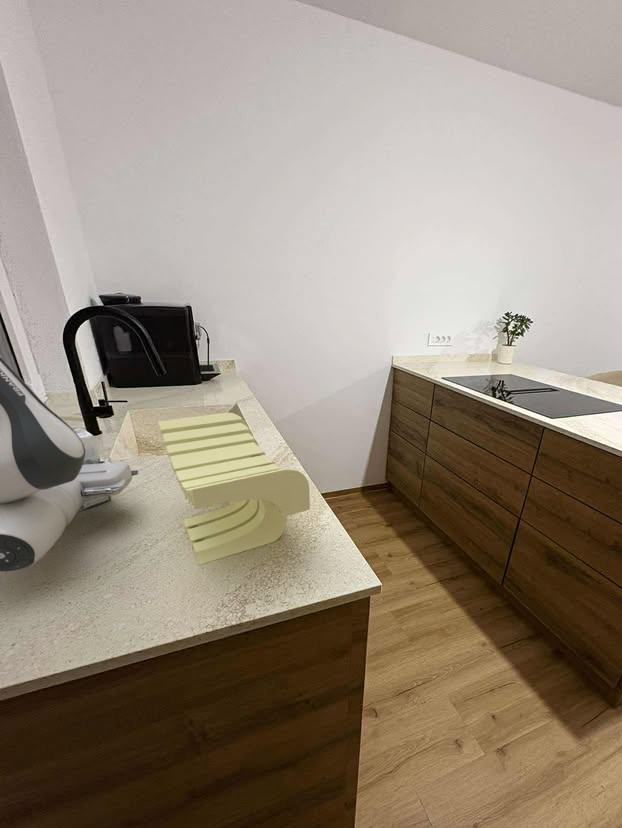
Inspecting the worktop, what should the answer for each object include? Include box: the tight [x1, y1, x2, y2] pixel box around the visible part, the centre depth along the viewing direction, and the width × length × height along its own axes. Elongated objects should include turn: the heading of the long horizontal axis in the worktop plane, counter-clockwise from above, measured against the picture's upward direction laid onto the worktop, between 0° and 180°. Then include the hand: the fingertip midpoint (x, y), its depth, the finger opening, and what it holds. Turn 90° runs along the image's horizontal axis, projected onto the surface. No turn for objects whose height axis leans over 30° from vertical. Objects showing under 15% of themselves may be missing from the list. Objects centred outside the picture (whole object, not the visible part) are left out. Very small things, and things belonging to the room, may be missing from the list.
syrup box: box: [73, 427, 112, 511], centre depth 75 cm, size 6×6×14 cm
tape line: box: [131, 469, 139, 475], centre depth 89 cm, size 12×2×1 cm, turn 106°
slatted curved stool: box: [157, 412, 311, 566], centre depth 67 cm, size 30×16×18 cm, turn 32°
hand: (80, 463), depth 76 cm, fingers closed on syrup box, 8 cm apart
